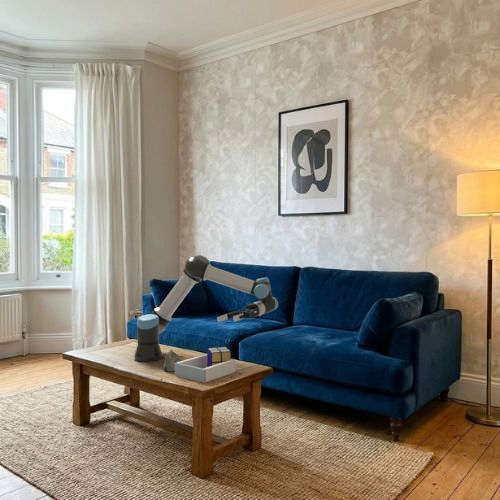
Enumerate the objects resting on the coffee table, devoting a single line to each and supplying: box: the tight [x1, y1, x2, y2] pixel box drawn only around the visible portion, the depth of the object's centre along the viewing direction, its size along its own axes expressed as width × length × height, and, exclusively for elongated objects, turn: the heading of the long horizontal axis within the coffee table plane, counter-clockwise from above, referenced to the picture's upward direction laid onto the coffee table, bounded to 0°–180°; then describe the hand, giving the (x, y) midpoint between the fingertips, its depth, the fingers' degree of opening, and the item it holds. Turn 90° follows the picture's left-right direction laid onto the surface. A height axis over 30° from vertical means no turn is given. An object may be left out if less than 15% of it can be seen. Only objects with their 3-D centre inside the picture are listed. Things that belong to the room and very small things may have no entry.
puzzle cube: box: [206, 346, 232, 368], centre depth 247 cm, size 10×10×10 cm
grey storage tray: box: [174, 353, 236, 383], centre depth 239 cm, size 22×20×6 cm
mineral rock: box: [162, 349, 180, 373], centre depth 249 cm, size 13×11×10 cm
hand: (225, 319), depth 254 cm, fingers open, 13 cm apart
